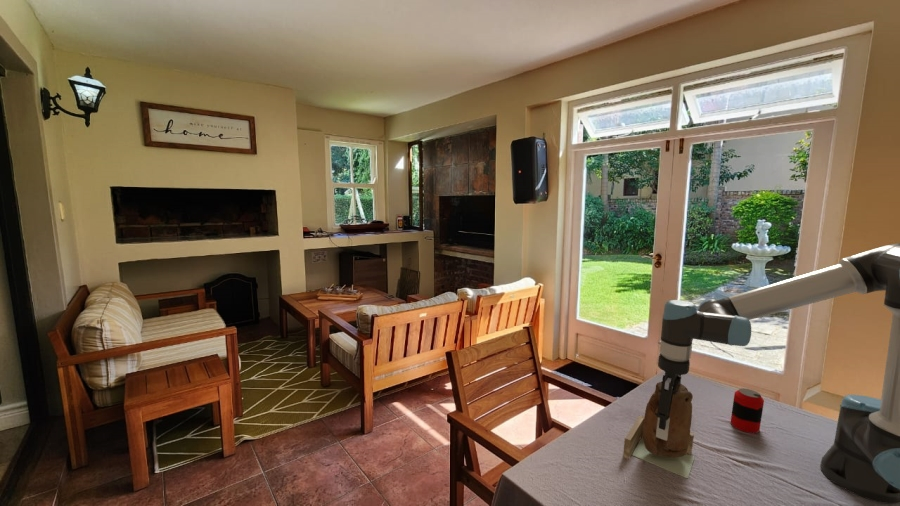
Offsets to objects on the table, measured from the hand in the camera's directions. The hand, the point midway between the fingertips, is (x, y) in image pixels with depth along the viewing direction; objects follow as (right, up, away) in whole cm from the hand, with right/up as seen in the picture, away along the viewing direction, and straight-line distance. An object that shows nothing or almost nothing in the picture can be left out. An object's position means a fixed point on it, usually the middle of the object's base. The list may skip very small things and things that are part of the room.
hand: (666, 428), depth 110 cm
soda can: (+35, -7, +16) cm, 39 cm away
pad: (0, -9, +1) cm, 9 cm away
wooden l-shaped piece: (-1, -9, +2) cm, 9 cm away
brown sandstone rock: (0, -7, +1) cm, 7 cm away
